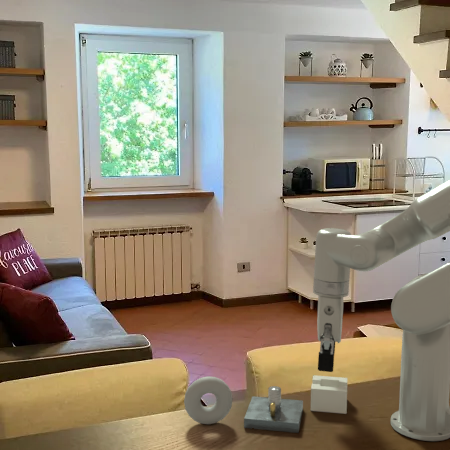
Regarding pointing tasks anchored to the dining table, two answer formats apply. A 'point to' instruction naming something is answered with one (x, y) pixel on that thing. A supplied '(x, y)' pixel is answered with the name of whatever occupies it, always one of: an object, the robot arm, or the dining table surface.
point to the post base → (274, 412)
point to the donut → (201, 388)
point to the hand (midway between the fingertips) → (326, 362)
